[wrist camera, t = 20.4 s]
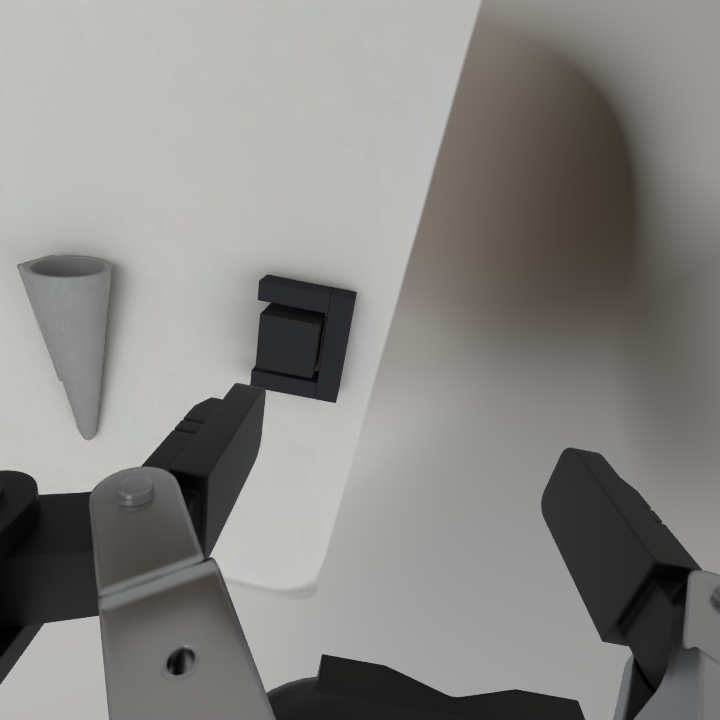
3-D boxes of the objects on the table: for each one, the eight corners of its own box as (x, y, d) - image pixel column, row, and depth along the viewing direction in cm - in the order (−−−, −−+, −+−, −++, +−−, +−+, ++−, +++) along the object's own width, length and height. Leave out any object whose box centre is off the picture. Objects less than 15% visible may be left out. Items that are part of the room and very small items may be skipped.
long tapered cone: (118, 469, 40) (75, 283, 31) (60, 454, 41) (1, 268, 31) (155, 433, 45) (127, 263, 36) (102, 421, 46) (62, 251, 36)
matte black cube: (325, 312, 37) (319, 325, 34) (318, 362, 39) (311, 378, 36) (271, 302, 37) (259, 313, 33) (266, 352, 39) (255, 367, 35)
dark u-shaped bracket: (267, 274, 36) (259, 280, 33) (356, 291, 36) (354, 299, 34) (257, 375, 40) (250, 386, 37) (338, 390, 40) (335, 403, 37)
